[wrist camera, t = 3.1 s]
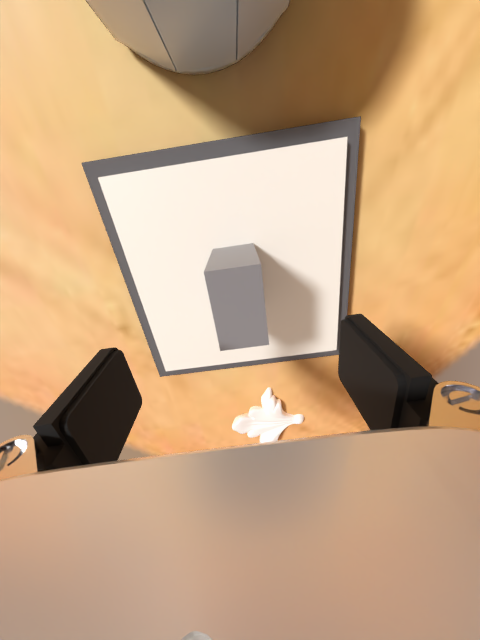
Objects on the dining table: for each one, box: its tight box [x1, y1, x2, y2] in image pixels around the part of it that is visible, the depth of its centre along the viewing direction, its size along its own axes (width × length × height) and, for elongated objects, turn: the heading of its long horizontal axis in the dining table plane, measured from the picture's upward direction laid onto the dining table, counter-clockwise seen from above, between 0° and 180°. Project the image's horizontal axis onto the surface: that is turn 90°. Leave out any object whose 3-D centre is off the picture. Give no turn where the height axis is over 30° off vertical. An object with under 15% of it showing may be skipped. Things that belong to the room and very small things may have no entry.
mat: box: [82, 116, 361, 377], centre depth 20 cm, size 18×18×1 cm
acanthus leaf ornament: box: [232, 387, 304, 443], centre depth 28 cm, size 8×7×2 cm
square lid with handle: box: [98, 137, 347, 371], centre depth 17 cm, size 16×16×7 cm
